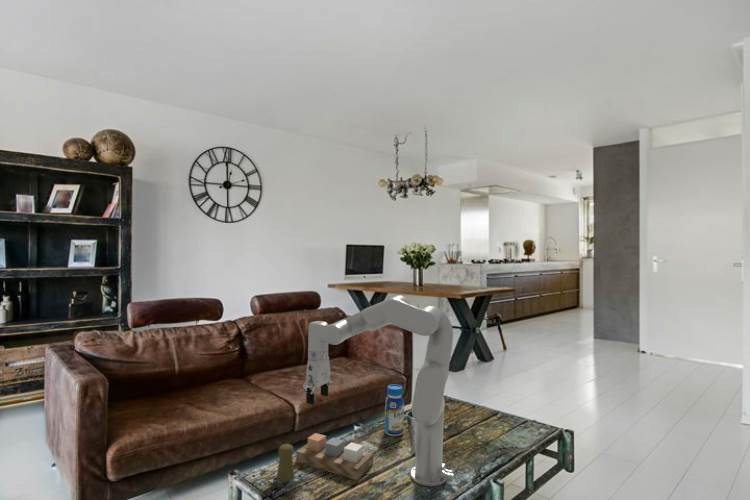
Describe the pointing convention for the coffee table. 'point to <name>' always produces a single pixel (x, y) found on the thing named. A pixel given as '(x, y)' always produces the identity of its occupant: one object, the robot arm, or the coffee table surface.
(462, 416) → the coffee table surface
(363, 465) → the wooden slotted tray
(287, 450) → the cork
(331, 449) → the grey cube
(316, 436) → the key terracotta
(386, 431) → the beverage bottle
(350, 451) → the key ivory
